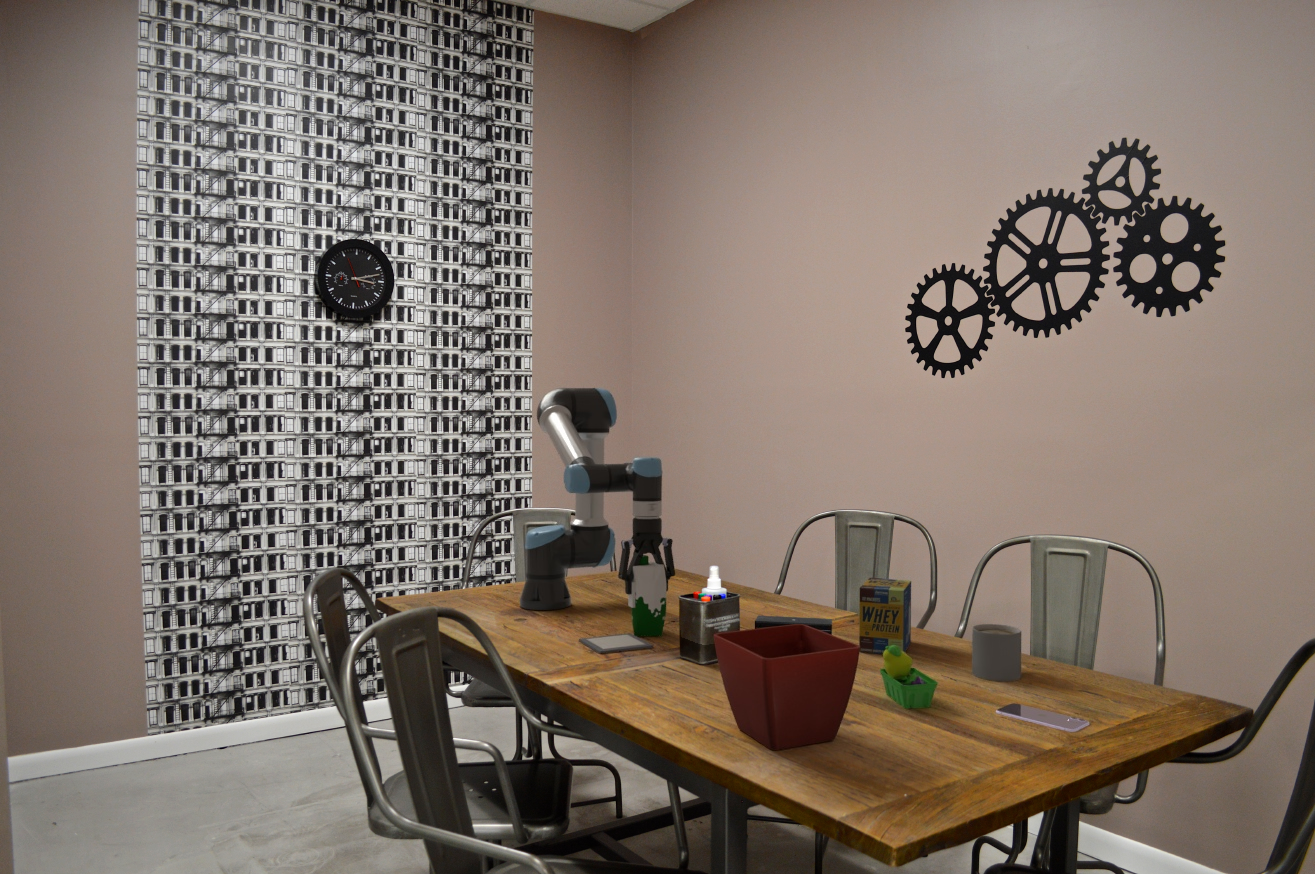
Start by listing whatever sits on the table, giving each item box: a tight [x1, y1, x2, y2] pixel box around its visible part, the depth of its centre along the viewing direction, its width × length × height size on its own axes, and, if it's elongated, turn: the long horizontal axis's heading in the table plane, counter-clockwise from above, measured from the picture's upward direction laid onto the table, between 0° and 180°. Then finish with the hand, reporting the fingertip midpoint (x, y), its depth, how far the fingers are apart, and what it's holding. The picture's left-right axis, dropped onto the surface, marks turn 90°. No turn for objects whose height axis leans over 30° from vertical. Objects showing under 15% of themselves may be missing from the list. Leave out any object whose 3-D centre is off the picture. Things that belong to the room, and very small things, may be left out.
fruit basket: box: [879, 645, 938, 710], centre depth 181 cm, size 11×9×11 cm
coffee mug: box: [971, 623, 1022, 683], centre depth 200 cm, size 13×10×10 cm
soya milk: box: [630, 554, 667, 637], centre depth 238 cm, size 9×9×20 cm
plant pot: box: [713, 623, 861, 751], centre depth 161 cm, size 19×19×17 cm
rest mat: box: [578, 633, 654, 655], centre depth 227 cm, size 14×14×1 cm
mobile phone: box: [995, 702, 1090, 733], centre depth 171 cm, size 8×1×15 cm
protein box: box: [858, 577, 912, 655], centre depth 224 cm, size 10×15×16 cm
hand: (646, 605), depth 238 cm, fingers closed on soya milk, 8 cm apart
